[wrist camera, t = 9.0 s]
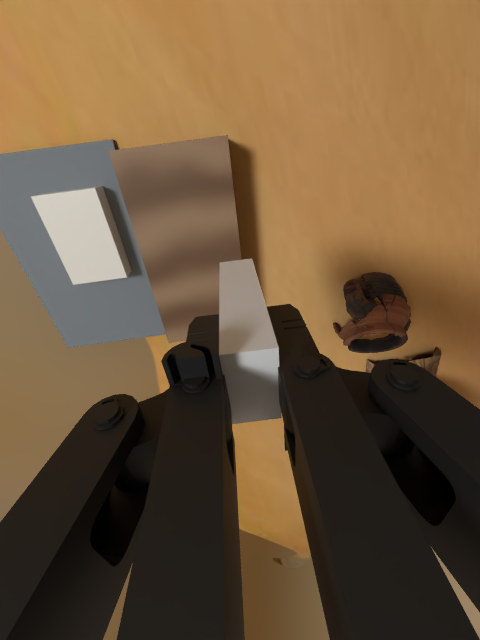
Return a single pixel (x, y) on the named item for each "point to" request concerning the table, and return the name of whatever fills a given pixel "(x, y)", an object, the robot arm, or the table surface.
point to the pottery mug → (375, 314)
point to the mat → (44, 261)
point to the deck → (181, 223)
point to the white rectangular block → (84, 234)
